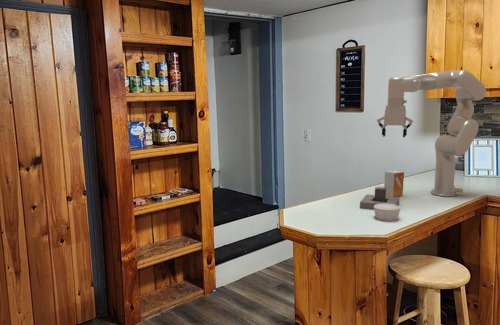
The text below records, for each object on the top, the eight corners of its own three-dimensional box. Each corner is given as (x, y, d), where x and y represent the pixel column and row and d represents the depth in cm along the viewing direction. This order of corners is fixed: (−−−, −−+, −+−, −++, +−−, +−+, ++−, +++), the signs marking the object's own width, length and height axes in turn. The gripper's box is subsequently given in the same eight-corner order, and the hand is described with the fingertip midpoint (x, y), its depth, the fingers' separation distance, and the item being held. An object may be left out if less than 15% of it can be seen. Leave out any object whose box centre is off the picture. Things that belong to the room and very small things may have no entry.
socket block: (399, 203, 216) (399, 197, 216) (394, 211, 202) (395, 204, 202) (366, 200, 223) (366, 194, 223) (359, 208, 209) (360, 201, 209)
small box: (393, 197, 228) (394, 173, 226) (383, 195, 233) (384, 171, 231) (403, 195, 232) (404, 171, 230) (393, 193, 238) (394, 169, 235)
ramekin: (368, 218, 193) (369, 206, 192) (381, 212, 201) (381, 201, 200) (392, 223, 186) (392, 211, 185) (404, 217, 193) (405, 206, 192)
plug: (385, 203, 215) (386, 186, 213) (385, 206, 210) (385, 188, 209) (375, 202, 216) (375, 185, 215) (374, 205, 212) (375, 187, 210)
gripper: (414, 102, 217) (412, 136, 220) (379, 102, 224) (377, 135, 227) (413, 102, 210) (411, 138, 213) (376, 102, 218) (375, 136, 221)
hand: (393, 136), depth 220 cm, fingers open, 9 cm apart
